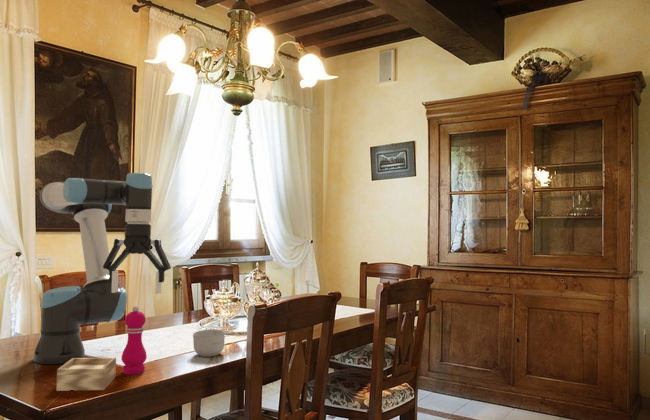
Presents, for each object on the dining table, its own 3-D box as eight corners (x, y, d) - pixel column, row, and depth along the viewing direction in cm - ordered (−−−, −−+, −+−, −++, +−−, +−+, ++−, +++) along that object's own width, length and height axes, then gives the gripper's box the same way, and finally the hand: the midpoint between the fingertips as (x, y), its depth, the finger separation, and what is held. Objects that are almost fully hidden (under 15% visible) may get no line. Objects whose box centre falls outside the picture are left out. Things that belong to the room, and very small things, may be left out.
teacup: (216, 359, 179) (217, 335, 179) (186, 357, 181) (187, 333, 182) (232, 350, 193) (232, 328, 193) (204, 348, 195) (204, 326, 195)
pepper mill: (121, 376, 158) (123, 308, 159) (120, 369, 165) (122, 304, 165) (147, 373, 161) (149, 307, 162) (145, 367, 168) (146, 303, 168)
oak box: (56, 390, 144) (57, 369, 144) (71, 377, 156) (72, 358, 156) (103, 389, 145) (104, 368, 145) (115, 377, 157) (116, 357, 157)
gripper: (92, 222, 161) (90, 293, 160) (174, 224, 160) (172, 295, 159) (104, 222, 168) (102, 290, 168) (182, 224, 167) (180, 292, 167)
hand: (136, 292), depth 163 cm, fingers open, 13 cm apart
